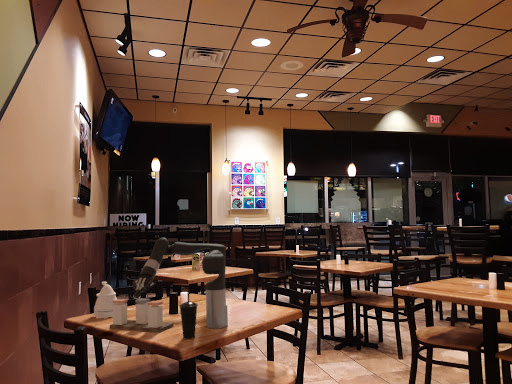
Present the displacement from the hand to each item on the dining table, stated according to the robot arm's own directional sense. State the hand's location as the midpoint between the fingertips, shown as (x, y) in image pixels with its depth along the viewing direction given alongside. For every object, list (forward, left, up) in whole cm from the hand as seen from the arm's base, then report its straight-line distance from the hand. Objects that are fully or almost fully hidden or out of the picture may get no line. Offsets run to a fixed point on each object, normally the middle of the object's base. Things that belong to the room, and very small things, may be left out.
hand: (135, 297), depth 208 cm
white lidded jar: (-1, +15, -10) cm, 18 cm away
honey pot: (+13, -20, -12) cm, 27 cm away
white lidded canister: (-6, +25, -10) cm, 27 cm away
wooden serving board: (-1, +15, -12) cm, 19 cm away
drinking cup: (-16, +44, -12) cm, 48 cm away
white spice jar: (+9, +10, -10) cm, 17 cm away
